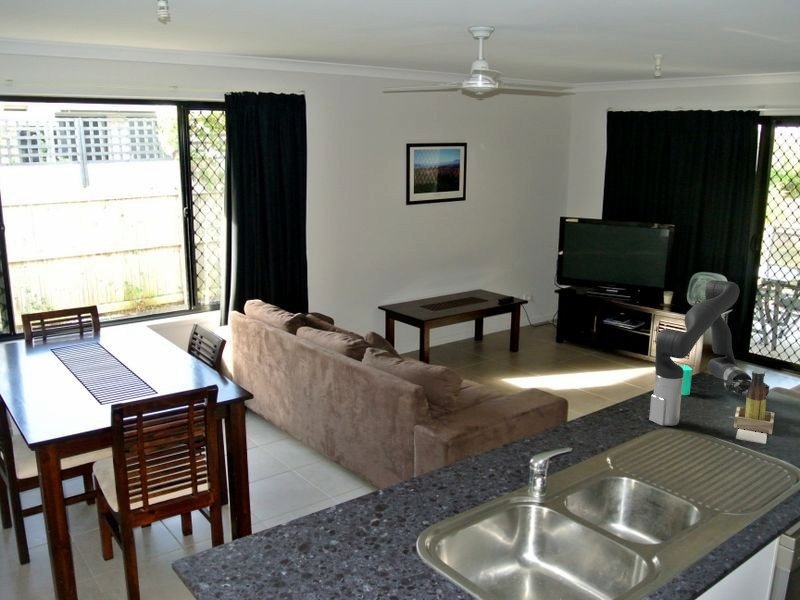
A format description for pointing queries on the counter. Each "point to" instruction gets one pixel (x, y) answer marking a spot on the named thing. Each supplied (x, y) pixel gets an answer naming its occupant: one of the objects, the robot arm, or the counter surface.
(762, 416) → the sauce bottle
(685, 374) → the turquoise rectangular block
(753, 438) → the coaster mat
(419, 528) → the counter surface
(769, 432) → the wooden tray
